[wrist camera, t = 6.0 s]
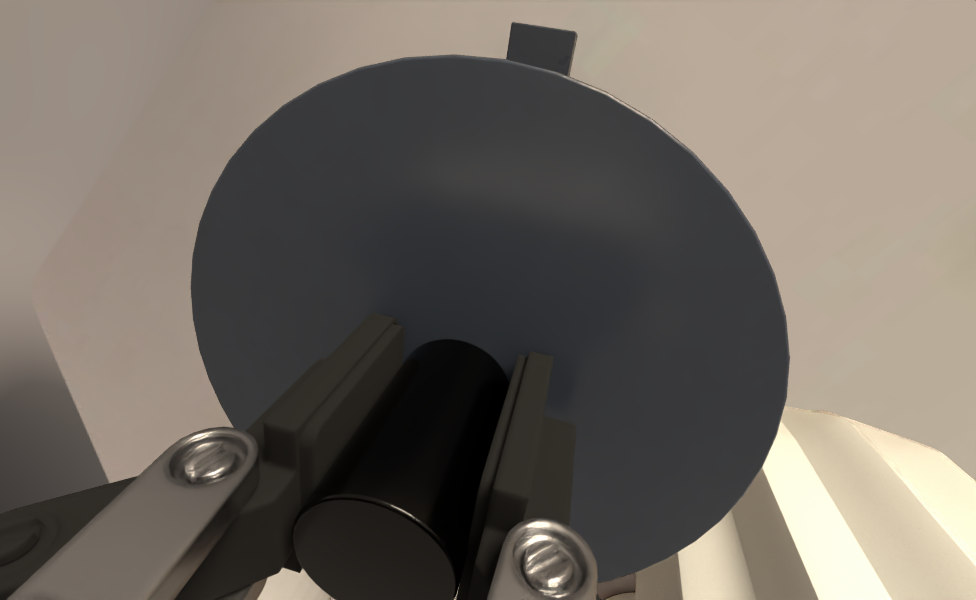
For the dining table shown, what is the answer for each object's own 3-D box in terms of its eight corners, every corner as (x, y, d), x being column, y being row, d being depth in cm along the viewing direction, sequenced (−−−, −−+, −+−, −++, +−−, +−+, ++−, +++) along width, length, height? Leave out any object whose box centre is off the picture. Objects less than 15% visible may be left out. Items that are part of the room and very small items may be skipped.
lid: (242, 483, 16) (77, 668, 11) (191, 6, 10) (-233, -71, 5) (659, 609, 14) (691, 900, 9) (906, 127, 8) (1401, 200, 3)
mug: (374, 560, 44) (316, 681, 35) (298, 566, 47) (226, 679, 38) (310, 451, 40) (226, 555, 31) (231, 465, 43) (133, 564, 34)
